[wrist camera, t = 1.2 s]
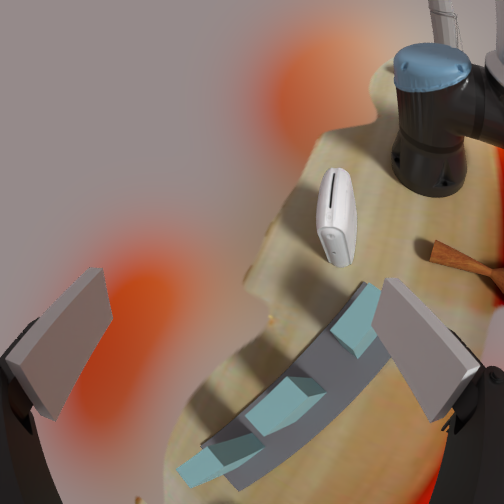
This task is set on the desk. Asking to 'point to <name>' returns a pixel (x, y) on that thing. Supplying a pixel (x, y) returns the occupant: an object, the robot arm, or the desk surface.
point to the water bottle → (443, 22)
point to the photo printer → (337, 217)
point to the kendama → (464, 263)
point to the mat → (320, 414)
